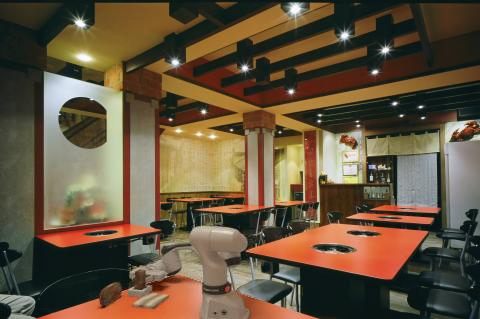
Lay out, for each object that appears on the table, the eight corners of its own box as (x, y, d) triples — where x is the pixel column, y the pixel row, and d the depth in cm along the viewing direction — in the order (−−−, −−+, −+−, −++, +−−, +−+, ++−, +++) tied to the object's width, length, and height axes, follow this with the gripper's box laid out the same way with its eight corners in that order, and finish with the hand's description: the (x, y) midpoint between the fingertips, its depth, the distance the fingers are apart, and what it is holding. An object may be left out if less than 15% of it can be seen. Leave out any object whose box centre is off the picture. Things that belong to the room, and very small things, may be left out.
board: (169, 297, 147) (169, 294, 148) (154, 309, 134) (154, 306, 134) (148, 295, 151) (148, 292, 151) (132, 306, 137) (132, 303, 137)
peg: (145, 292, 154) (145, 269, 155) (141, 295, 151) (141, 272, 152) (139, 291, 155) (139, 269, 156) (134, 294, 152) (134, 271, 153)
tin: (103, 308, 135) (103, 290, 136) (97, 308, 136) (98, 290, 136) (122, 296, 150) (122, 279, 150) (117, 295, 150) (117, 279, 151)
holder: (152, 291, 156) (152, 285, 156) (142, 297, 148) (142, 291, 148) (137, 289, 159) (137, 284, 159) (127, 295, 150) (127, 290, 150)
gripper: (169, 278, 163) (156, 287, 150) (138, 275, 168) (123, 284, 155) (169, 267, 164) (156, 275, 150) (138, 265, 169) (123, 272, 156)
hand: (139, 279), depth 153 cm, fingers open, 6 cm apart
